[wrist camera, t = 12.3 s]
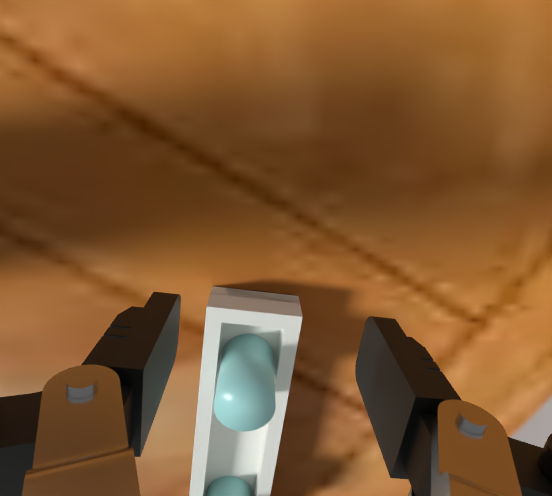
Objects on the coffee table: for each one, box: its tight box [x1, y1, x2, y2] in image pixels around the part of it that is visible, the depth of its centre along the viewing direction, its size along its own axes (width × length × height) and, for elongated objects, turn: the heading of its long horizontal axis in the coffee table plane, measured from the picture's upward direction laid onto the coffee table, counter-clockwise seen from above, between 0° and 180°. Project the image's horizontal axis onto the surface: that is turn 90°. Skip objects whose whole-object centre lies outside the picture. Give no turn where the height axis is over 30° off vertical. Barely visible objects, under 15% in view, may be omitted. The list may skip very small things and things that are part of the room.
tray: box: [189, 286, 303, 496], centre depth 27 cm, size 22×6×6 cm, turn 172°
